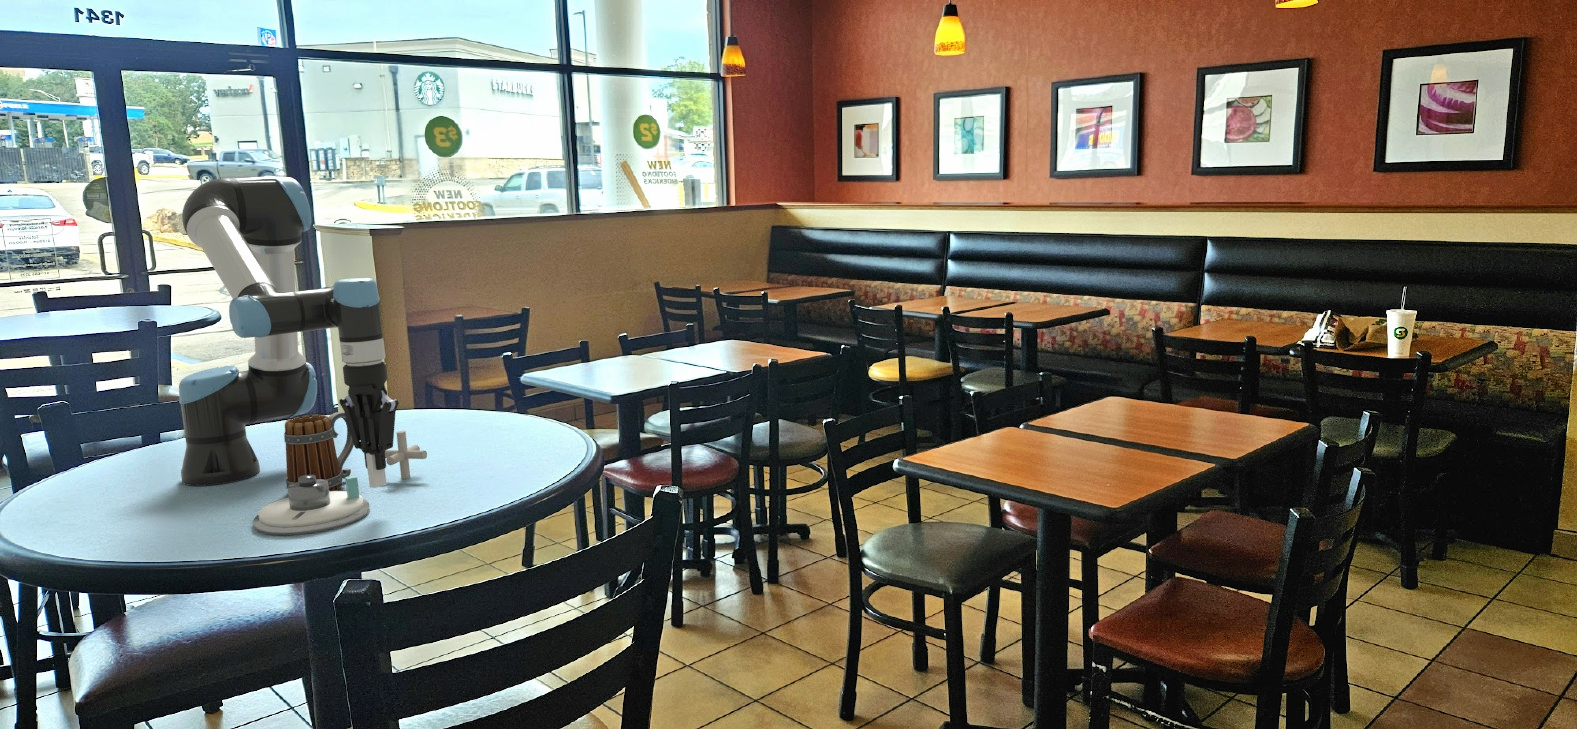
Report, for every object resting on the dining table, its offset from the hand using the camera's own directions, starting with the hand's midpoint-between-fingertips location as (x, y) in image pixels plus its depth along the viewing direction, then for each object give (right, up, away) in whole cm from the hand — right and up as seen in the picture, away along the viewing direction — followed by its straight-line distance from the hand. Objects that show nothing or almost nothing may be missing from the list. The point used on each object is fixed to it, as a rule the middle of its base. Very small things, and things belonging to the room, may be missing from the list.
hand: (378, 485), depth 203 cm
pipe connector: (-4, -1, +25) cm, 25 cm away
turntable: (-12, -5, -1) cm, 13 cm away
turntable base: (-12, -6, -1) cm, 13 cm away
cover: (-12, -4, -1) cm, 13 cm away
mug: (-18, -3, +20) cm, 27 cm away
